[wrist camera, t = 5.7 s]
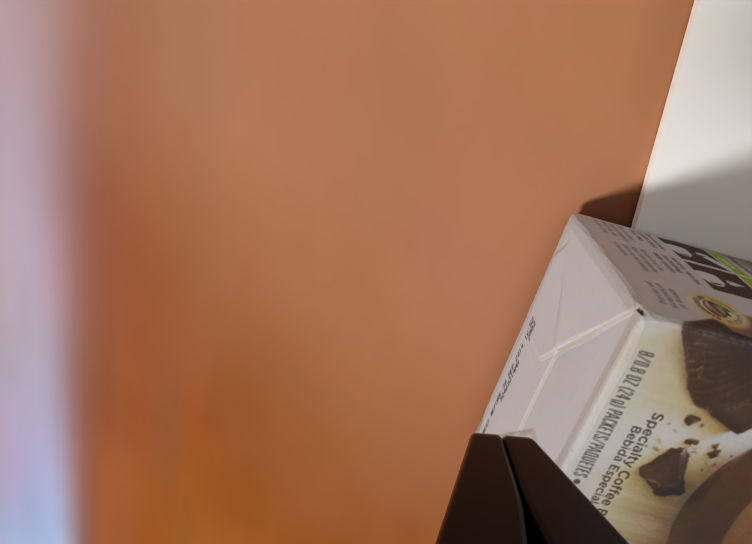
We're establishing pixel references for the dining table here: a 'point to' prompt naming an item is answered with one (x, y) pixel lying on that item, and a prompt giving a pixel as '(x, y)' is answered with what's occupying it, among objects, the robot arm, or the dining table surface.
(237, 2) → the dining table surface
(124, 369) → the dining table surface
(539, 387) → the coffee box
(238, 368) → the dining table surface
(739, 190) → the mat
